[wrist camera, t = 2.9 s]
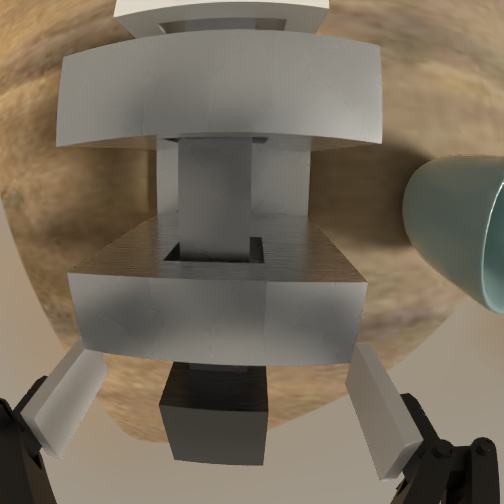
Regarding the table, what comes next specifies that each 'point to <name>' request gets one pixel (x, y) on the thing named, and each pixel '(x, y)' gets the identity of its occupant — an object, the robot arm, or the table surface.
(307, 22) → the block
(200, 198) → the shaft
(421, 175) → the cup
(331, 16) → the table surface
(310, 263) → the bearing block
